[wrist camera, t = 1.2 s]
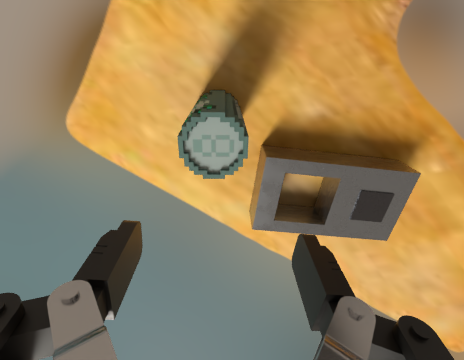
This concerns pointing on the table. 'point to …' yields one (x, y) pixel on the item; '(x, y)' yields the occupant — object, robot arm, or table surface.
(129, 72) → the table surface
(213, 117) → the can
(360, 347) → the robot arm
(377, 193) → the block with square hole
